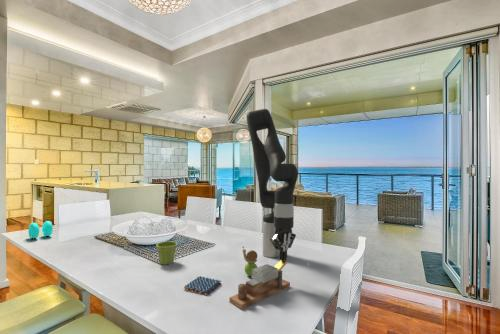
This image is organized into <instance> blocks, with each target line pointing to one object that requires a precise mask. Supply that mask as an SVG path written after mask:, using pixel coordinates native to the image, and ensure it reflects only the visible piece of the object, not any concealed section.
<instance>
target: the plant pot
mask: <svg viewBox="0 0 500 334" xmlns="http://www.w3.org/2000/svg"><path fill="white" fill-rule="evenodd" d="M177 245H178V242H177V241H173V240H172V241H170V240H169V241H161V242H159V243H158V242H157V243H156V245H155V246H156V249H157V252H158V258H159V259H158V260H159V265H163V266H164V265H171V264H173V263H174V261H175V254H176V248H177Z"/></svg>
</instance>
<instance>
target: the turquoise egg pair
mask: <svg viewBox="0 0 500 334" xmlns="http://www.w3.org/2000/svg"><path fill="white" fill-rule="evenodd" d="M52 223H53V222H52V221H50V220H45V222H43V224H42V226H41V231H42V235H43V236H44V235H45V236H44V237H46V236H49V237H51V236H52V235H53V231H54V230H53V229H54V226H53V224H52ZM39 234H40V226H39V225H38V223H36V222H31V223H30V224H29V226H28V237H29V239H31V238H36V239H37V238H38V237H39ZM50 235H51V236H50Z"/></svg>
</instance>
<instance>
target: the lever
mask: <svg viewBox="0 0 500 334" xmlns="http://www.w3.org/2000/svg"><path fill="white" fill-rule="evenodd" d="M287 264H288V262H287V260H285V261H282V260H280V259H279V261H278V262H277V263H276V264H275V266H274V267H276V268H278V274H279V271H280V270H283V268H284V267H285V266H286V265H287Z"/></svg>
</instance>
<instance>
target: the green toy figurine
mask: <svg viewBox="0 0 500 334" xmlns="http://www.w3.org/2000/svg"><path fill="white" fill-rule="evenodd" d="M244 248H245V246H242V253H243V259H244V261H245V262H247V263H246V264H245V267H244V272H245V274H246V275H247V276H248V277H251V275H252V269H255V268H258V267H259V266H258V265H257V264H256V262H258V260H257V258H258V252H256V251H255V250H249V251H248V252H247V250H246V249H244Z"/></svg>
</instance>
